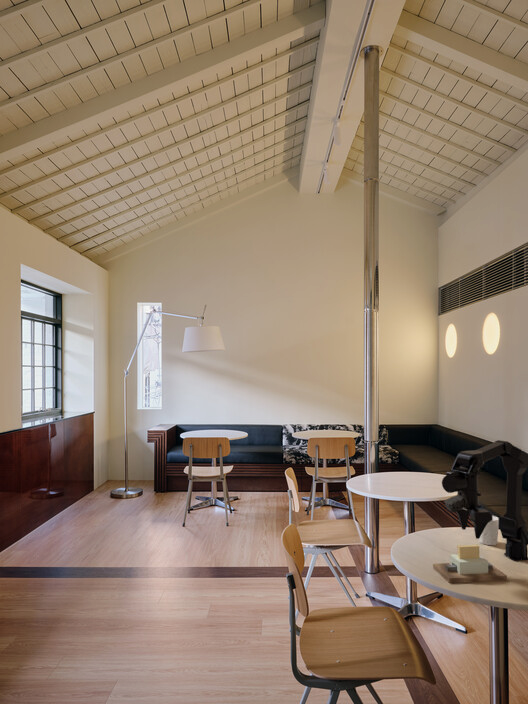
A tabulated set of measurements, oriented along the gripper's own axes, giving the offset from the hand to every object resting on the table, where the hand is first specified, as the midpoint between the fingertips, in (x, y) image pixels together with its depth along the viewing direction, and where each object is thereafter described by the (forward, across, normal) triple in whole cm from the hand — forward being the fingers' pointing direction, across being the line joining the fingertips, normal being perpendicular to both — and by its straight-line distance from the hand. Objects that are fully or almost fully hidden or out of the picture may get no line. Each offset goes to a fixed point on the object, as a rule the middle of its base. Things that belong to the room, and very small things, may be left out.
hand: (470, 533), depth 172 cm
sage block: (+11, +3, -2) cm, 12 cm away
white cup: (+13, -25, +21) cm, 35 cm away
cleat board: (+12, +3, -2) cm, 13 cm away
